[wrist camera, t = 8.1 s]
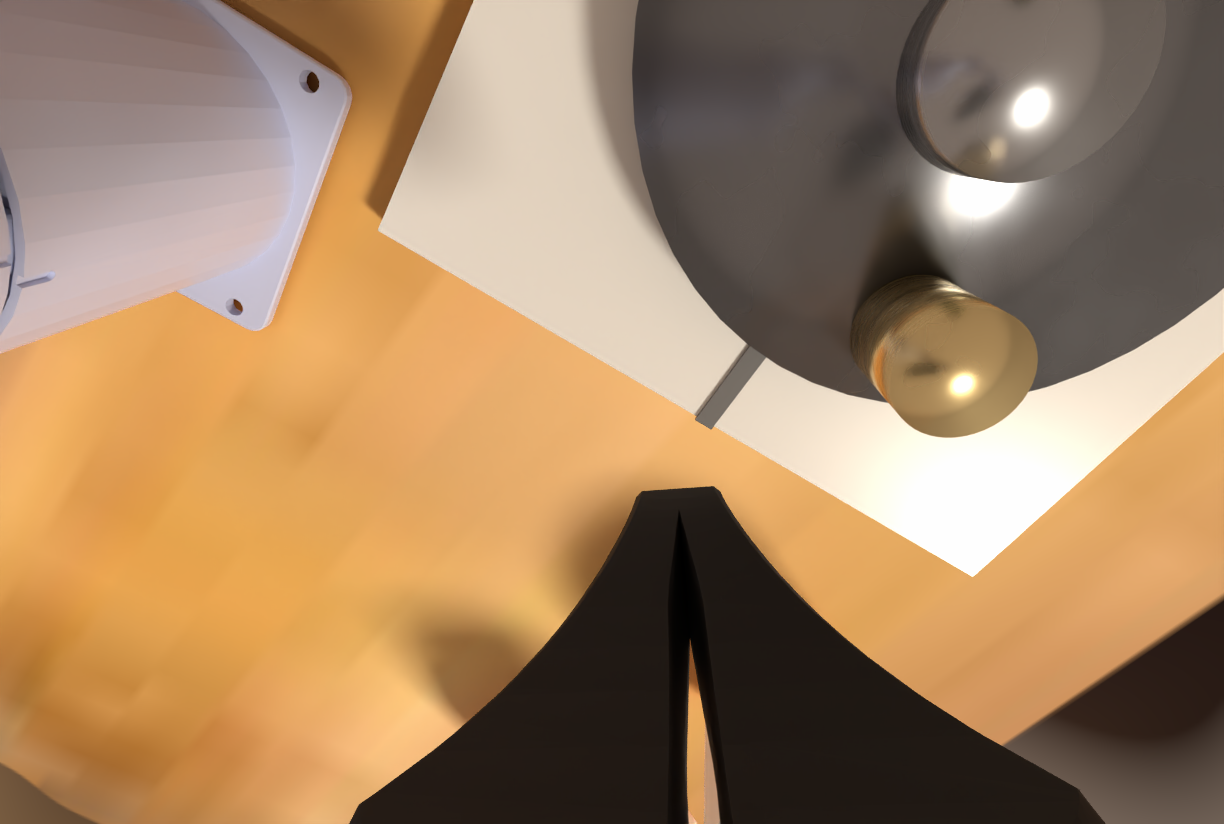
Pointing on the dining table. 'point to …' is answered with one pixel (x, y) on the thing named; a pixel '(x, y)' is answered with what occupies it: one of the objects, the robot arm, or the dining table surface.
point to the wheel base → (680, 318)
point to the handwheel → (938, 185)
